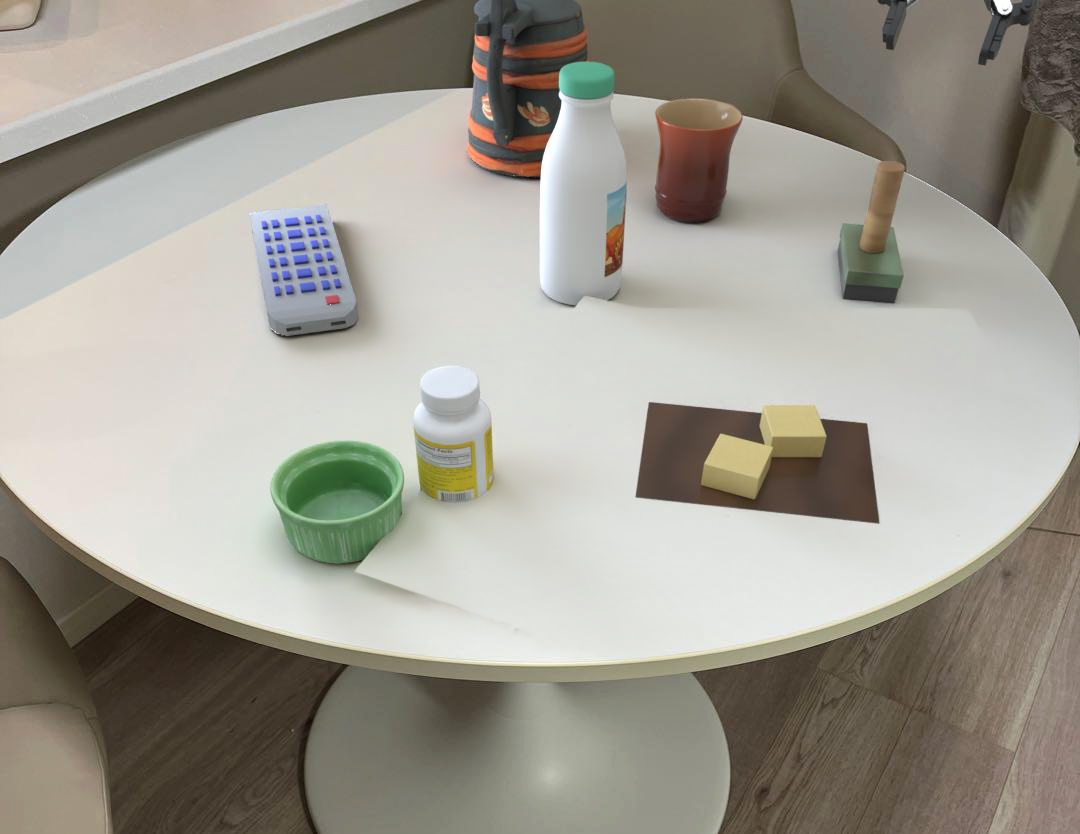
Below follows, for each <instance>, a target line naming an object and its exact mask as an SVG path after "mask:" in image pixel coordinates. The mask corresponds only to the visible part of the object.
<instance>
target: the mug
mask: <svg viewBox="0 0 1080 834" xmlns="http://www.w3.org/2000/svg"><path fill="white" fill-rule="evenodd" d="M654 115H655V120H656V126H657V130H658V136H659V153H658V161H657V169H656V179H655V185H654V191H655V195H654V196H655V197H654V198H655V201H656V207H657V209H658V210H659V212H660V213H662V214H663V215H664V216H665V217H667V218H669V219H671V220H674V221H677V222H683V223H701V222H705V221H709V220H711V219H713V218H715V217H716V216H717V215H718V214H719V213H720V212H721V211H722V208H723V203H724V201H725V197H726V195H727V192H728V191H727V187H728V179H729V169H730V159H731V152H732V147H733V144H734V141H735V139H736V135H737V133H738V131H739V129H740V126H741V125H742V123H743V118H744V116H743V114H742V111H740V110H739V109H738V108H737V107H736V106H735V105H734V104H732V103H729V102H724V101H723V102H722V101H719V100H714V99H710V98H695V97H694V98H693V97H692V98H679V99H674V100H669V101H666V102H664V103H662V104H660V105H659V106H658V107H657V108H656V109H655V114H654Z"/></svg>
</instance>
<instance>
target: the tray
mask: <svg viewBox="0 0 1080 834" xmlns="http://www.w3.org/2000/svg"><path fill="white" fill-rule="evenodd" d="M761 415H762V412H757V411H746V410H736V409H727V408H715V407H707V406H705V407H704V406H696V405H695V406H694V405H686V404H685V405H684V404H674V403H664V402H656V401H655V402H654V401H649V402H648V405H647V413H646V418H645V426H644V432H643V440H642V448H641V454H640V460H639V461H640V462H639V469H638V475H637V483H636V488H635V497H634V498H637V499H646V500H653V501H654V500H655V501H663V502H664V501H665V502H674V503H683V504H690V505H691V504H693V505H703V506H710V507H711V506H712V507H719V508H728V509H729V508H730V509H738V510H747V511H755V512H756V511H758V512H765V513H776V514H785V515H794V516H804V517H812V518H821V519H830V520H831V519H832V520H841V521H849V522H850V521H851V522H860V523H869V524H870V523H871V524H877V525H878V524H880V515H879V507H878V500H877V491H876V484H875V475H874V467H873V459H872V451H871V444H870V435H869V427H868V423H867V422H858V421H849V420H848V421H847V420H839V419H829V418H828V419H827V418H820V420H821V423H822V425H823V428H824V431H825V434H826V441H825V445H824V449H823V453H822V457H772V458H771V462H770V467H769V470H768V472H767V474H766V477H765V479H764V481H763V483H762V485H761V488H760V490H759V492H758V494H757V496H756V498H755V500H754V499H750V498H746V497H743V496H739V495H735V494H732V493H728V492H724V491H721V490H717V489H714V488H710V487H706V486H703V485H701V482H702V475H703V469H704V463H705V461H706V459H707V458H708V456H709V454H710V452H711V450H712V448H713V446H714V445H715V443H716V441H717V439H718V437H719V435H720V434H724V435H728V436H732V437H736V438H740V439H744V440H748V441H751V442H755V443H759V444H763V445H765V443H764V440H763V436H762V433H761V429H760V421H761Z"/></svg>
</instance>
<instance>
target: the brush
mask: <svg viewBox="0 0 1080 834" xmlns="http://www.w3.org/2000/svg"><path fill="white" fill-rule="evenodd" d="M905 170H906V167H905V165H904V164H903V163H901V162H899V161H895V160H883V161H880V162H878V163H877V166H876V170H875V175H874V179H873V183H872V189H871V192H870V196H869V201H868V206H867V209H866V213H865V217H864V223H863V224H859V223H847V222H846V223H845V222H842V224H841V227H840V231H839V243H838V248H837V259H838V268H839V278H840V286H841V295H842V300H843V299H844V300H856V301H866V302H867V301H869V302H878V303H880V302H881V303H892V304H895V303H896V300H897V297H898V293H899V289H901V287H902V283H903V279H904V276H905V275H904V271H903V265H902V261H901V255H900V251H899V246H898V242H897V236H896V232H895V227H894V226H892V222H893V220H894V219H893V218H894V214H895V210H896V206H897V202H898V198H899V194H900V190H901V186H902V182H903V179H904V173H905Z"/></svg>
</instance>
